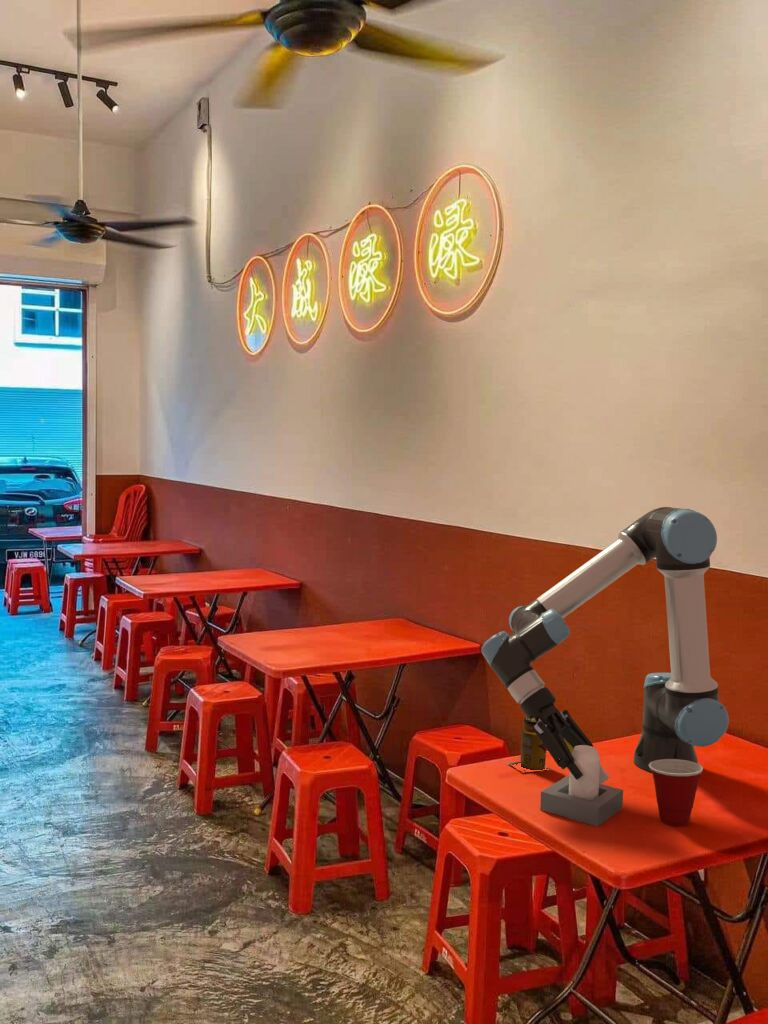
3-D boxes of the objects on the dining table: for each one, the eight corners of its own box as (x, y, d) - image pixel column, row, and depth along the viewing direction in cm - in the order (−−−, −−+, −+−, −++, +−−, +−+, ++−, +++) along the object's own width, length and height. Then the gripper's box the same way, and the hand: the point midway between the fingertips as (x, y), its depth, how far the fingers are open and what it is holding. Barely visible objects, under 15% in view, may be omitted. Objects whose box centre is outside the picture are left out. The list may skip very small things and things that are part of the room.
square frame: (567, 792, 197) (567, 775, 196) (622, 808, 189) (623, 789, 188) (540, 810, 186) (541, 791, 186) (597, 826, 178) (598, 807, 178)
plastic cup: (658, 806, 190) (660, 752, 190) (708, 820, 183) (710, 764, 183) (637, 821, 182) (640, 764, 181) (689, 836, 175) (692, 777, 174)
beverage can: (586, 796, 191) (589, 742, 190) (603, 807, 186) (606, 752, 185) (562, 799, 189) (565, 745, 188) (579, 811, 183) (582, 755, 182)
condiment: (552, 770, 211) (554, 721, 211) (523, 774, 208) (525, 724, 207) (535, 760, 218) (537, 713, 217) (506, 764, 214) (508, 716, 214)
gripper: (541, 696, 203) (604, 782, 194) (500, 713, 188) (566, 808, 179) (562, 678, 200) (628, 765, 191) (522, 694, 185) (592, 789, 176)
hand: (598, 785), depth 185 cm, fingers closed on beverage can, 6 cm apart
